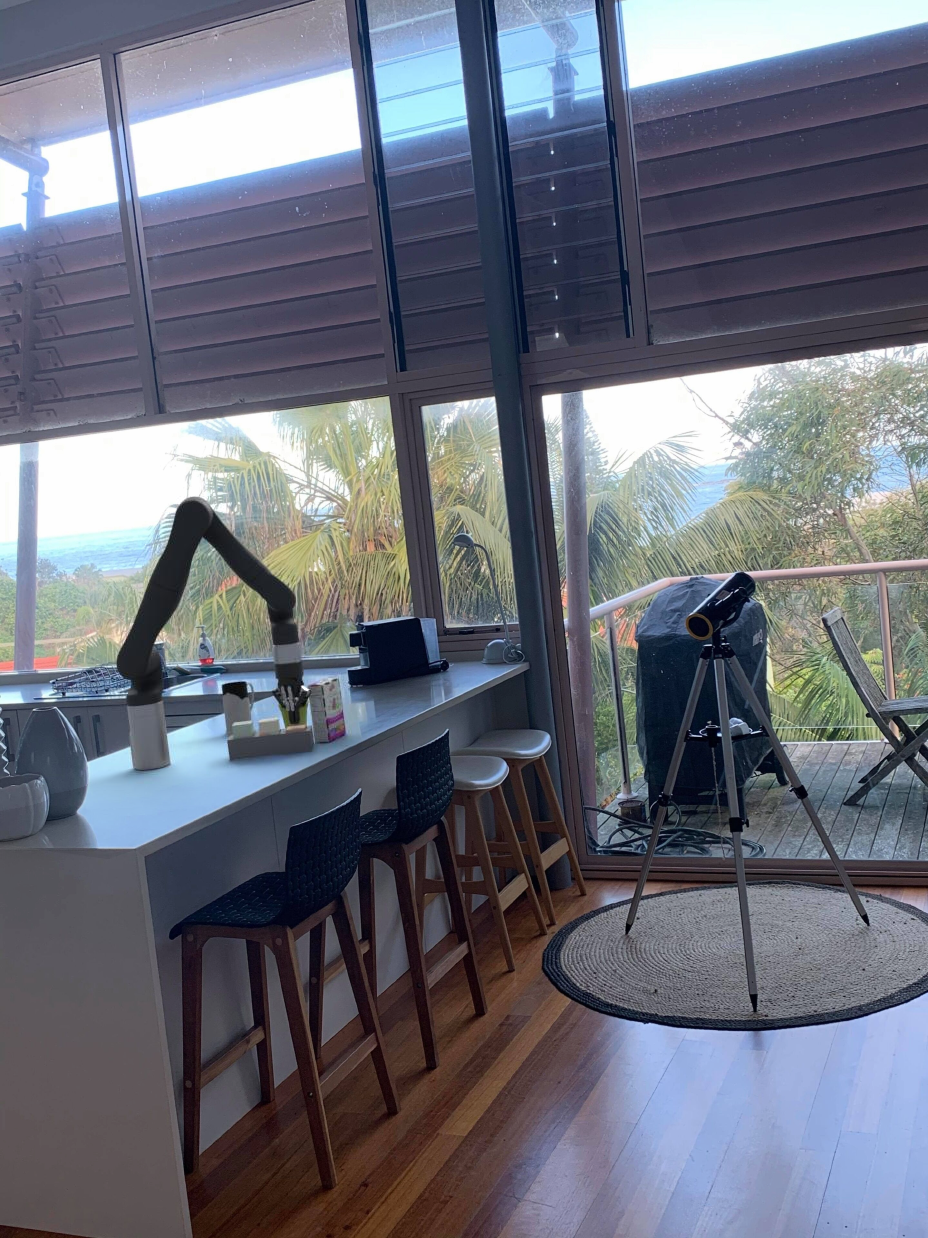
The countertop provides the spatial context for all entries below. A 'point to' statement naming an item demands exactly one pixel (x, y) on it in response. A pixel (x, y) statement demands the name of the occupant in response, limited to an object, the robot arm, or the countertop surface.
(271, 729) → the key sand
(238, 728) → the key sage
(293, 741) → the grey long block
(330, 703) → the candy bar box
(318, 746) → the countertop surface
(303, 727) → the key terracotta
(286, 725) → the plant pot
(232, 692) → the pitcher
